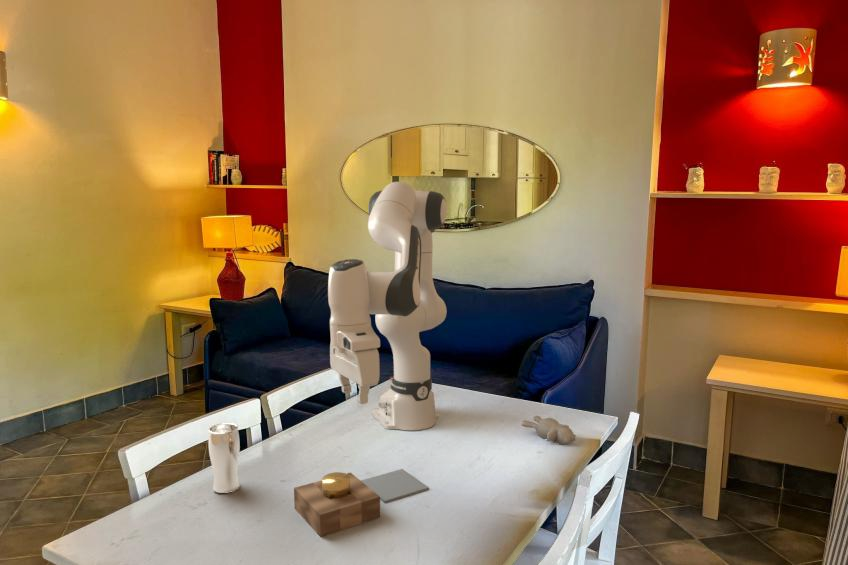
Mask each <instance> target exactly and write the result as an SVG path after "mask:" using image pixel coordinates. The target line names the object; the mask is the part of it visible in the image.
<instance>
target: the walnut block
mask: <svg viewBox="0 0 848 565" xmlns="http://www.w3.org/2000/svg"><path fill="white" fill-rule="evenodd" d="M346 474H348V475H349V476H350V493H349V494H348V495H346V496H344V497H340V498H335V499H332V500H330V499H329V498H328V497H326V496H324V495H323V493H322V479H321V480H319V481H318V480H317V481H314V482H311V483H307V484H303V485H299V486H295V487H294V488H293V495H294V496H293V497H294V498H293V500H294V501H293V504H294V509H295V511H297V512H298V513H299V515H300V516H301V517H302V519H304V521H306V523H308V525H309V526H310V527H311V528H312V529H313V530H314V531H315V533H316V534H317V535H318V536H319V538H321V537H324V536H327V535H330V534H333V533H336V532H340V531H343V530H346V529H349V528H352V527H355V526H359V525H362V524H364V523H368V522H370V521H373V520H376V519H380V518H381V499H380V496H379V495H377V494H376V493H375V492H374V491H373V490H371V489H370V488H369V487H368V486H366V485H365V484H364V483H363V482H362V481H361V480H360V479H359V478H358V477H357V476H356V475H354V474H353V473H352V472H348V473H346Z"/></svg>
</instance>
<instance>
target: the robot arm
mask: <svg viewBox="0 0 848 565" xmlns="http://www.w3.org/2000/svg"><path fill="white" fill-rule="evenodd" d="M447 206H448V205H447V202H446V198H445V196H444V195H443V193H441V192H437V191H434V190H430V191H426V190H418V189H414V188H413V187H412V186H411V185H409V184H408V183H406V182H403V181H393V182H392V181H391V182H390V183H388V184H387V185H385V187H384V188H383V189H382V190H378V191H376V192H374V193H373V194H372V195H371V197H370V198H369V202H368V208H367V209H368V221H367V230H368V233H369V236H370V237H371V238H372V240H373V242H375V243H376V244H377V245H378V246H379V247H381V248H383V249H385V250H388V251H392V252H394V271H368V270H367V268H366V264H365V262H364V261H363V260H361V259H357V258H356V259H355V258H352V259H351V258H350V259H344V260H339V261H336V262H334V263H333V264H331V265H330V267H329V273H328V278H327V279H328V280H327V281H328V282H327V284H328V285H327V298H328V306H329V309H330V318H329V331H330V332H329V333H330V344H329V357H330V358H329V364H330V368H331V370H333V371H335V372H336V373H337V374H338V378H339V381H340V385H341V392H342V393H343V394H351V393H352V384H351V383H350V382H351V381H352V382H353V383H355V384H357V387H358V389H359V391H358V394H357V402H358V403H359V404H361V405H364V404H367V403H369V397H368V396H369V392H370V389H371V387H374V386H377V385H378V384H379V382H380V371H381V370H380V369H381V368H380V353H379V350H378V348H380V347H381V339H380V337H379V335H377V334H376V332H375V330H374V329H373V326H372V319H371V316H370V315H375V316H374V317H375V320H374V321H375V325H376V328H377V330H378V331H379V333H380V334H381V335H383V337H385V338H386V339H387V341H388V343H389V345H390V348H391V352H392V355H393V356H392V359H393V376H390V377H389V378H390V379H389V380H390V381H391V383H390V388H388V389H387V390H386V391H385V392H383V393H382V394H381V395H380V397H379V402H378V407H376V408H374V409H373V410H371V415H372V416H373V417H375V419H376V420H377V421H378V422H379V423H380V424H381V425H382V426H383V428H384V429H386V430H387V429H388V430H402V431H422V430H426V429H429V428H431V427H433V426H435V425H436V421H437V419H438V418H439V413H437V412H436V403H435V402H436V401H435V394H434V393H435V392H434V391H432V388H433V387H432V386H433V380H432V379H433V378H432V376H431V353H430V350H428V348H426V347H425V346H423V345H422V343H421V339H420V332H421V333H422V332H425V331H429V330H432V329H435V328H436V327H438V326H439V325H441V324H442V323H443V322H444V321H445V319H446V318H447V312H448V311H447V310H448V309H447V306H446V303H445V300H443V298H442V297H440V296H439V294H438V293H437V290H436V287H435V284H434V279H433V233H435V231H436V230H439V229H440V228H441V227H442V226H443V225H444V223H445V221H446V218H447V215H448V207H447Z"/></svg>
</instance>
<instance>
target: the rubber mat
mask: <svg viewBox="0 0 848 565" xmlns="http://www.w3.org/2000/svg"><path fill="white" fill-rule="evenodd" d="M360 481H362V482H363V483H364V484H365V485H366V486H368V487H369V488H370V489H371V490H373V491H374V492H375V493H376V494H377V495H379V496H380V501H382V502H383V503H384V504H386V503H389V502H392V501H396V500H399V499H402V498H404V497H405V498H406V497H409V496H411V495H412V496H413V495H415V494H417V493H422V492H424V491H427V490H429V488H430V487H429V486H427V485H426V484H425V483H423V482H422V481H421V480H419V479H418V478H416V477H414V476H413V475H412V474H410V473H409V472H408V471H406V470H405V469H403V468H400V469H397V470H394V471H389V472H386V473H383V474H380V475H375V476H372V477H369V478H366V479H361V480H360Z"/></svg>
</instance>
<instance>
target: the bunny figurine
mask: <svg viewBox="0 0 848 565" xmlns="http://www.w3.org/2000/svg"><path fill="white" fill-rule="evenodd" d="M532 420H534V421H535V422H532V421H529V420H522V422H521V426H522V427H524V428H530V429H534V430H535V432H536V434H537V436H538V437H539V438H541V439H542V440H545V439H547V440H546V442H555V443H556V442H557V443H559V444H558V445H560V444H563V445H565V444H567V445H568V444H570V443H572V442H575V441H576V438H577V436H576V434H574V432H573V430H572V429H571V428H570V426H569V425H567V424H561V423H559V422H558V420H557V419H554V418H553V417H547V418H546V417H545V418H542V417H541V416H539V415H534V416H533V418H532ZM557 443H556V444H557Z"/></svg>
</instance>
